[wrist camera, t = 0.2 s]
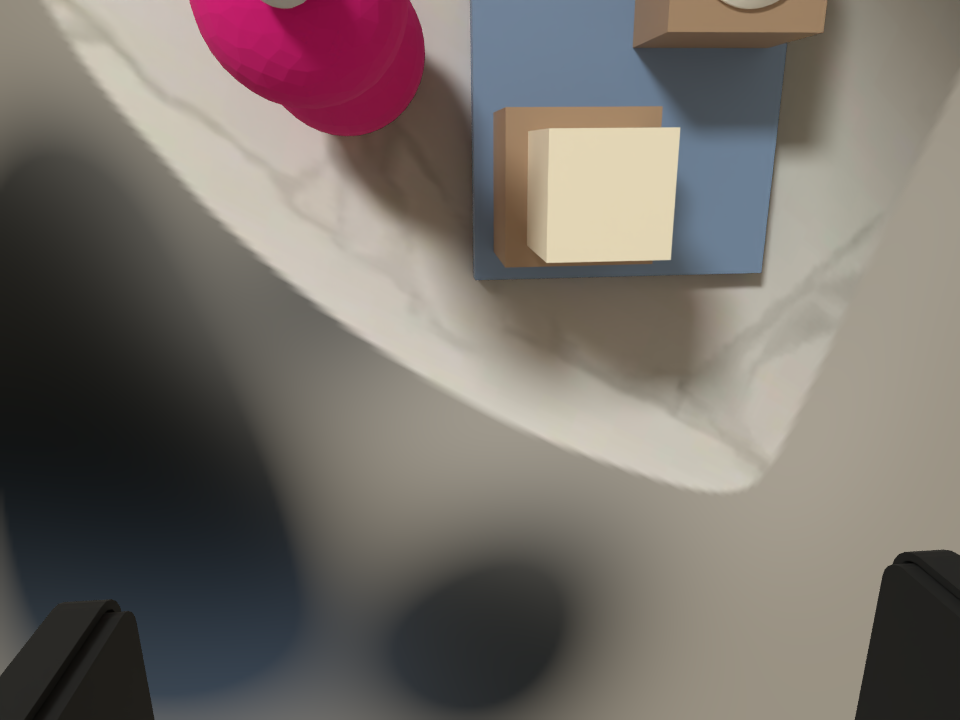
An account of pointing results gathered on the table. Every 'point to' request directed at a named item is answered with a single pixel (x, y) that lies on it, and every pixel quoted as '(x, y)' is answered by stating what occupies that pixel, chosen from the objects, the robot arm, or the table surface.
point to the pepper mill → (321, 56)
